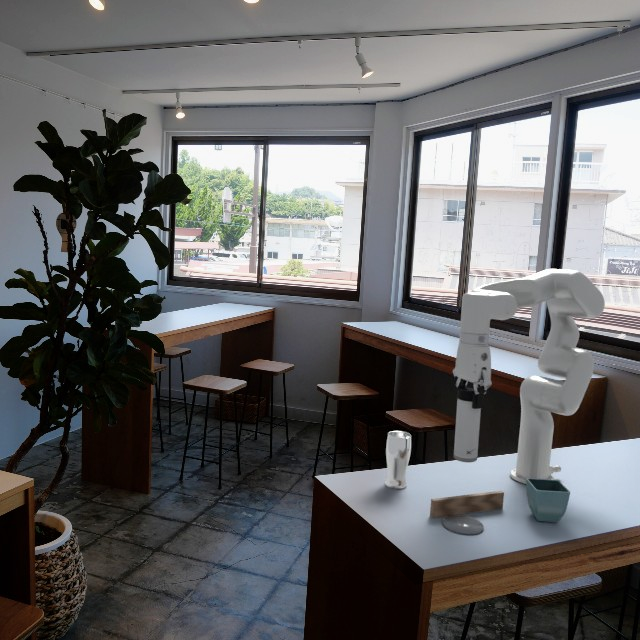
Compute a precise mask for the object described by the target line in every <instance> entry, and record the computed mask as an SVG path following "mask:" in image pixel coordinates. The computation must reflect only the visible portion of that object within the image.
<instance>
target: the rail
mask: <svg viewBox="0 0 640 640" xmlns="http://www.w3.org/2000/svg"><path fill="white" fill-rule="evenodd" d="M504 497H505V492H504V491H503V490H497V491H487V492H486V491H485V492H480V493H479V492H478V493H471V494H464V495H463V494H462V495H456V496H455V495H454V496H445V497H438V498H431V499H430V509H429V517H430V518H431V519H433V518H434V519H436V518H442V517H443V518H445V517H447V516H451V515H464V514H473V513H479V512H487V511H488V512H489V511H495V510H501V509H502V510H503V508H504V499H505V498H504Z"/></svg>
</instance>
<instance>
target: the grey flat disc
mask: <svg viewBox="0 0 640 640" xmlns="http://www.w3.org/2000/svg"><path fill="white" fill-rule="evenodd" d="M441 522H442V526H443V527H444V528H445V529H446V530H448V531H451V532H452V533H455V534H459V535H467V536H473V535H474V536H475V535H480V534H481V533H482V532H484V530H485V529H484V527H485V526H484V524H483V523H482V522H481V521H480V520H478V519H477V518H474V517H471V516H467V515H463V514H459V515H451V516H444V517H443V518H442V521H441Z"/></svg>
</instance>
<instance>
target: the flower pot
mask: <svg viewBox="0 0 640 640" xmlns="http://www.w3.org/2000/svg"><path fill="white" fill-rule="evenodd" d="M525 486H526V487H525V488H526V498H527V503H528V507H529V510H530V511H531V514H532V515H533V517H535V519H536V521H538V522H550V523H558V522H559V521H560V520H561V519H562V518H563V517H564V516H565V513H566V511H567V508H568V504H569V500H570V497H571V491H570V490H569V489H568V488H567V487H566V486H565V485H564V484H563V483H562V481H560V480H557V479H554V480H547V479H531V478H526V485H525Z"/></svg>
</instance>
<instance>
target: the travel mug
mask: <svg viewBox="0 0 640 640" xmlns="http://www.w3.org/2000/svg"><path fill="white" fill-rule="evenodd" d="M479 387H480V386H478V389H479ZM473 394H475V391H474V386H466V387H464V388H461V389H459V390H458V400H457V401H456V415H455V430H454V431H455V433H454V446H453V447H454V449H453V459H455V460H456V461H458V462H460V463H474V462H475V463H476V461H477V460H478V454H479V453H478V450H479V439H480V438H479V437H480V426H481V425H480V424H481V409H482V408H480V409H473V408H472V401H473Z"/></svg>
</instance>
